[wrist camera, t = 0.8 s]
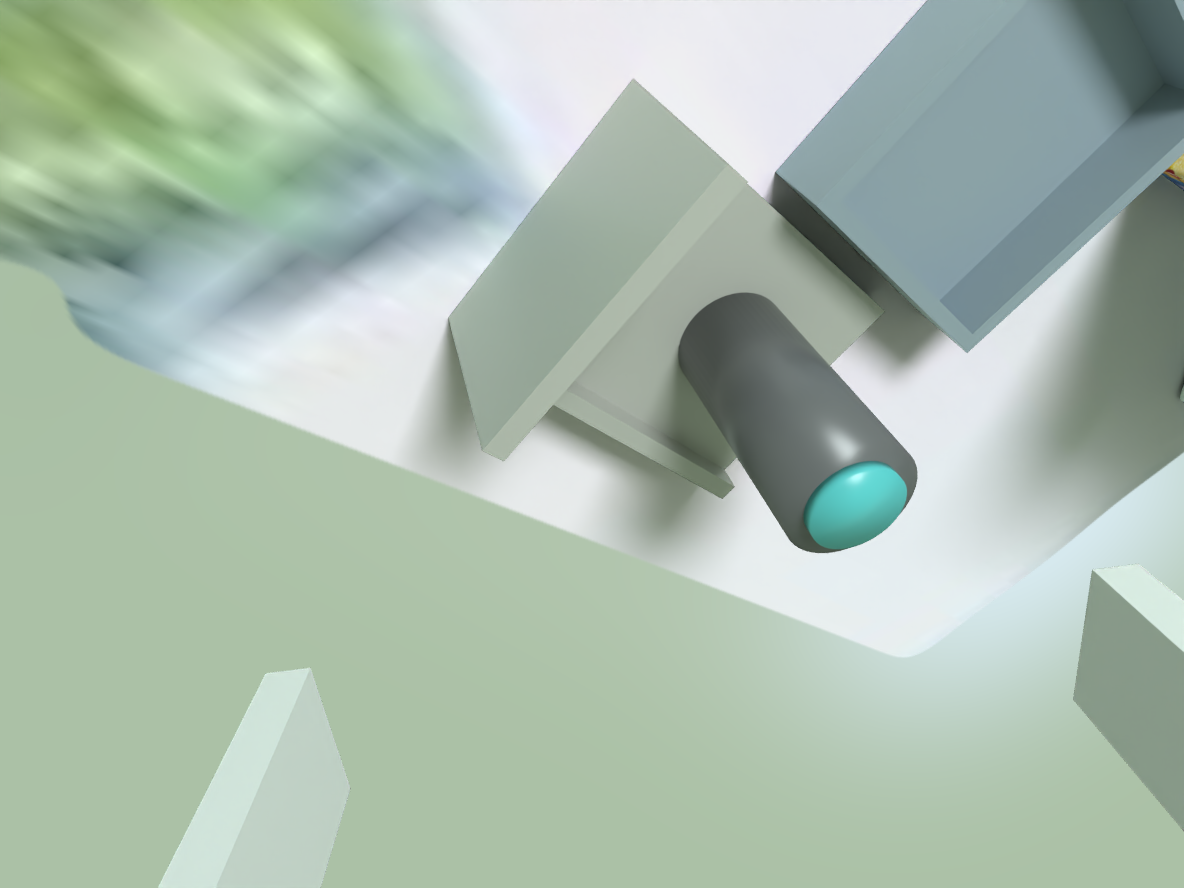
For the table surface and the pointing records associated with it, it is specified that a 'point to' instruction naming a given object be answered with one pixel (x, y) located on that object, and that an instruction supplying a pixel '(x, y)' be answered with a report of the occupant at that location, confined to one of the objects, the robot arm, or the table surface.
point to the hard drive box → (1182, 395)
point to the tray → (996, 146)
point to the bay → (636, 293)
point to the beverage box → (1176, 172)
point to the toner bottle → (795, 425)
